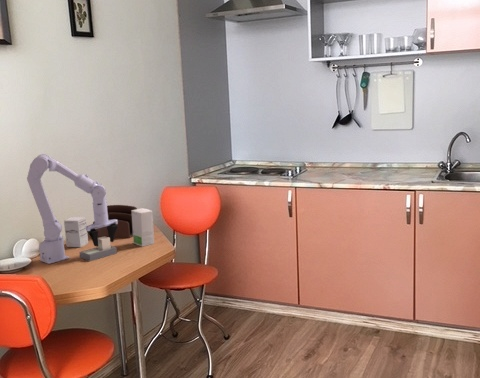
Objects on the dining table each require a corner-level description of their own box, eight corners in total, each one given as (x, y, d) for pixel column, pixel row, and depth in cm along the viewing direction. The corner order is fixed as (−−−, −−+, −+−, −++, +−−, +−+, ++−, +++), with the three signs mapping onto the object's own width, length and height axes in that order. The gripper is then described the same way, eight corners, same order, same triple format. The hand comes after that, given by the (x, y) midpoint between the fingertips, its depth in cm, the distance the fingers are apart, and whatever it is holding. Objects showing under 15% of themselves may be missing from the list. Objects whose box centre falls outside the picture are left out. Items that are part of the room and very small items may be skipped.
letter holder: (104, 231, 270) (101, 204, 268) (140, 233, 264) (137, 204, 262) (93, 237, 261) (90, 208, 258) (130, 238, 255) (127, 209, 252)
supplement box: (66, 247, 245) (63, 220, 242) (74, 242, 252) (71, 216, 249) (80, 247, 243) (77, 220, 241) (89, 243, 250) (86, 216, 248)
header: (90, 261, 222) (89, 254, 221) (80, 257, 227) (79, 251, 227) (117, 253, 231) (116, 247, 231) (106, 250, 236) (105, 244, 236)
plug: (103, 255, 228) (101, 239, 227) (98, 254, 231) (96, 238, 230) (111, 253, 231) (109, 237, 230) (106, 251, 234) (104, 236, 233)
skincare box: (133, 243, 245) (130, 210, 242) (145, 240, 249) (142, 207, 246) (143, 247, 238) (139, 212, 236) (155, 243, 243) (152, 209, 240)
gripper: (90, 217, 220) (94, 249, 223) (120, 210, 230) (123, 241, 233) (81, 215, 225) (85, 246, 227) (111, 208, 235) (114, 238, 238)
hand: (103, 243), depth 230 cm, fingers open, 7 cm apart
